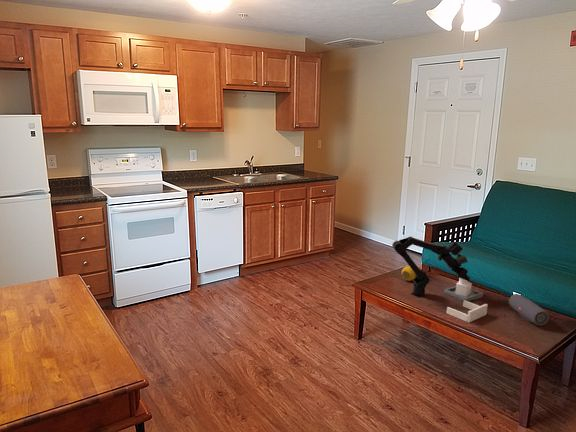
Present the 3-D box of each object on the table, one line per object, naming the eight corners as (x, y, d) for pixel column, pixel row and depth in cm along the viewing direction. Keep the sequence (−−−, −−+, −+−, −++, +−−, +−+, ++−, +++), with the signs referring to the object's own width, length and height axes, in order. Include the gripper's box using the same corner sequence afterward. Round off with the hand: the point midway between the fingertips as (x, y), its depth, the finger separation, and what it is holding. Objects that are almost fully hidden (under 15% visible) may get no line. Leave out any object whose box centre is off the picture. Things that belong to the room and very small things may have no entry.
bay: (446, 313, 242) (447, 303, 241) (464, 305, 252) (465, 296, 250) (468, 322, 231) (470, 312, 230) (486, 314, 241) (487, 304, 240)
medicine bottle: (459, 290, 272) (460, 272, 269) (470, 293, 267) (472, 275, 265) (454, 294, 267) (456, 275, 264) (466, 297, 262) (468, 278, 259)
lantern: (419, 258, 302) (394, 267, 283) (431, 264, 296) (406, 274, 276) (414, 270, 306) (390, 280, 287) (426, 277, 300) (402, 288, 280)
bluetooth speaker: (506, 309, 248) (508, 293, 246) (521, 308, 249) (524, 292, 247) (531, 328, 226) (534, 310, 224) (548, 327, 227) (551, 309, 225)
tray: (443, 293, 270) (444, 289, 269) (460, 288, 278) (460, 284, 277) (465, 302, 256) (466, 298, 256) (482, 297, 265) (483, 293, 264)
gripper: (466, 256, 252) (482, 274, 254) (453, 247, 270) (469, 264, 273) (451, 268, 253) (468, 286, 256) (440, 258, 272) (455, 275, 274)
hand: (465, 277), depth 265 cm, fingers open, 9 cm apart
